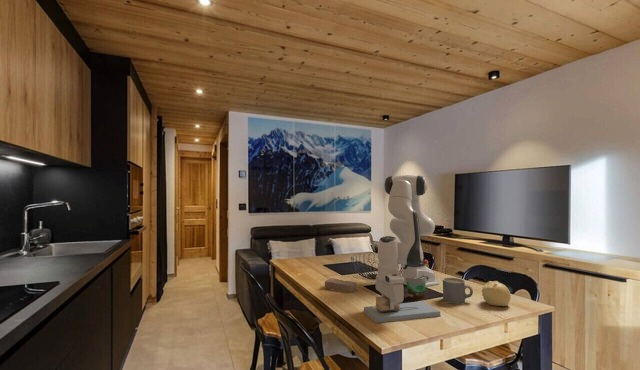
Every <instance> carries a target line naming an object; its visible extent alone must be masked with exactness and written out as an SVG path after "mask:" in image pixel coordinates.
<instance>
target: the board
mask: <svg viewBox="0 0 640 370" xmlns="http://www.w3.org/2000/svg"><path fill="white" fill-rule="evenodd" d="M363 312H364V313H365V314H366V315H367V316H368V317H369V318H370V319H371V320H372V321H373V322H374V323H375V324H377V323H388V322H398V321H407V320H415V319H416V320H417V319H424V318H425V319H426V318H434V317H435V318H436V317H441V310H438V309H437V308H436V307H434V306H432V305H431V304H429V303H427V302H425V301H423V300H422V301H415V302H413V301H412V302H405V303H404V302H400V311H389V312H379V311H378V310H377V309H376V305H372V306H370V305H369V306H363Z"/></svg>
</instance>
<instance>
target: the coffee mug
mask: <svg viewBox="0 0 640 370" xmlns="http://www.w3.org/2000/svg"><path fill="white" fill-rule="evenodd" d="M466 289H468V290H469V293H466ZM473 294H474V290H473V287H472V286H471V285H469V284H466V282H465V279H462V278H457V277H444V278H442V300H443V302H446V303H448V304H453V305H462V304H465V303H466V299H468V298H471V297H472V296H473Z"/></svg>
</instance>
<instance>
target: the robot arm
mask: <svg viewBox="0 0 640 370" xmlns="http://www.w3.org/2000/svg"><path fill="white" fill-rule="evenodd" d="M427 190H428V181H427V178H426V177H424V176H423V175H412V174H407V175H406V174H404V175H390V176H388V177H386V178H385V180H384V191H385V193H386V194H387V195H388V204H387V206H388V207H387V208H388V211H389V213H390V215H391V216H392V218H391V220H390V222H389V229H390V231H391V232H392V233H393V234H394V235H395V236H396V237H397V238H398V239H397V238H396V237H395V236H392V235H387V236H382V237H380V238H379V240H378V245H377V259H378V265H377V274H376V275H375V289H376V291H377V292H379V293H380V294H381V297H383V296H386V297H388V298H389V299H390V304H389V308H390V309H394V305H395V303H400V304H401V303H403V301H404V299H405V298H404V295H405V294H404V293H405V292H404V291H405V290H404V286H407V282H406V278H414V277H422V275H424V276H426V278H427V282H426V284H425V287H429V286H437V285H440V283H441V282H440V281H439V280H438V279H436V275H435V273H434V271H433V270H432V269H430V268H429V267H427V265H426V264H429V261H428V260H427V259H424V252H423V246H422V240H421V239H422V238H421V237H423V236H431V235H432V234H434V231H435V230H436V229H435V228H436V224H435V221H434V220H433V219H432V218H430V217H429V216H428V215H426V213H424V211H423V210H422V206H421V205H422V204H421V196H423V195H424V194H426V193H427ZM398 240H399V241H400V242H399V241H398ZM399 265H401V268H402V269H401V272H400V271H399V269H400V268H399Z"/></svg>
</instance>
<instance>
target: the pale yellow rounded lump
mask: <svg viewBox="0 0 640 370" xmlns="http://www.w3.org/2000/svg"><path fill="white" fill-rule="evenodd" d="M481 295H482V298H483V300H484V301H485V302H486V303H487V304H488V305H489V306H495V307H498V306H499V307H506V306H508V305H509V303H510V301H511V291H510V290H509V288H508V287H507V286H506V285H505V284H503V283H502V282H499V281H498V280H494V281H491V280H490V281H489V280H488V282H486V283H485V284H484V285H483V286H482V288H481Z"/></svg>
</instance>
